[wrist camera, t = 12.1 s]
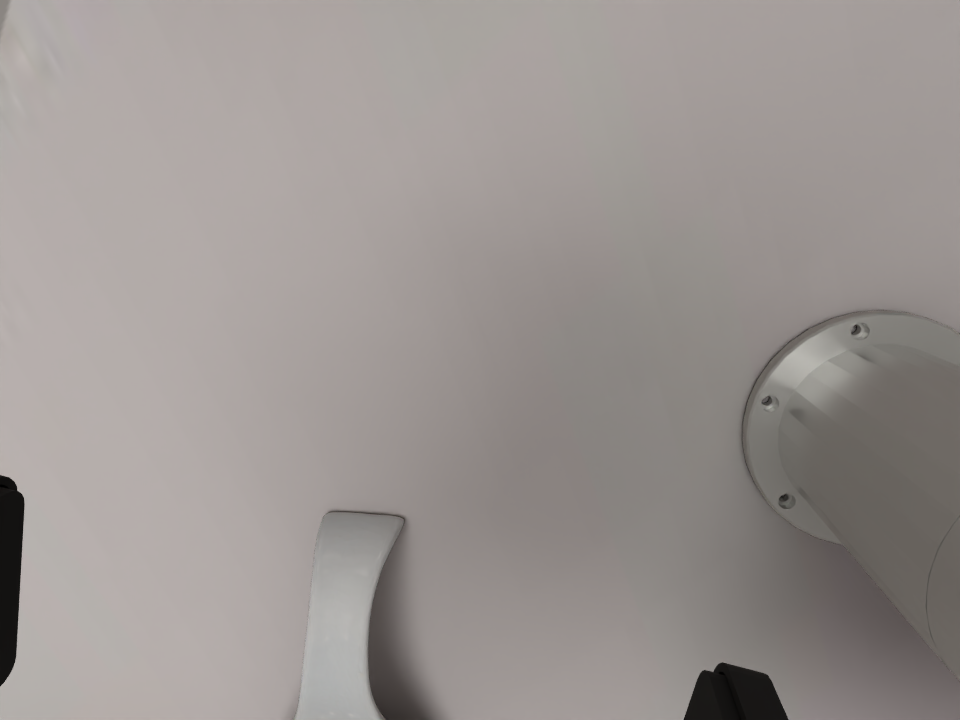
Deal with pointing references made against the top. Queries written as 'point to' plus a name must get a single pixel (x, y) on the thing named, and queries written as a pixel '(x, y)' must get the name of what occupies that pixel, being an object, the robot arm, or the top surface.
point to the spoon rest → (343, 615)
